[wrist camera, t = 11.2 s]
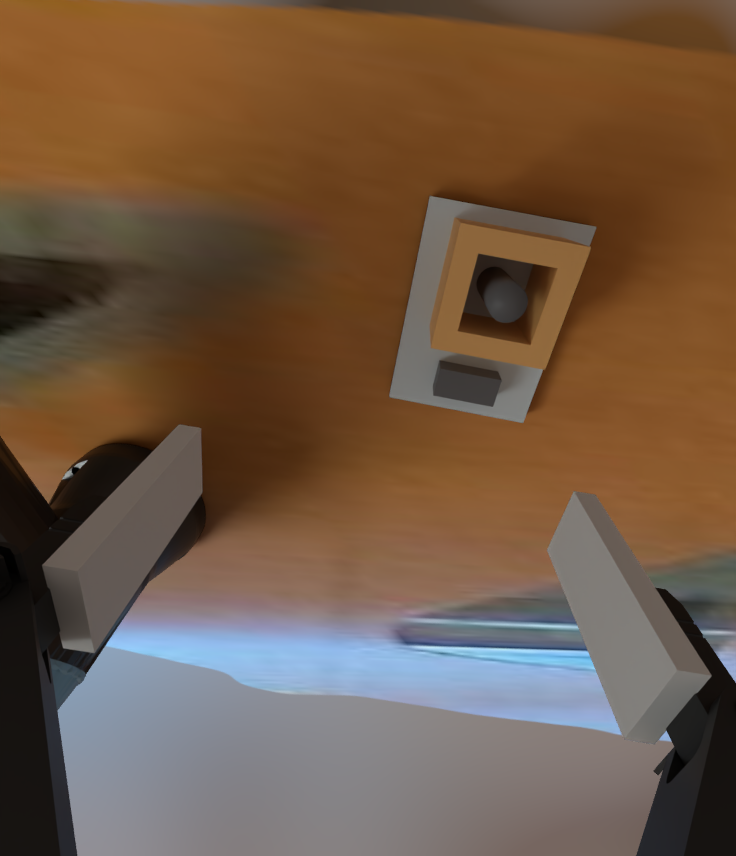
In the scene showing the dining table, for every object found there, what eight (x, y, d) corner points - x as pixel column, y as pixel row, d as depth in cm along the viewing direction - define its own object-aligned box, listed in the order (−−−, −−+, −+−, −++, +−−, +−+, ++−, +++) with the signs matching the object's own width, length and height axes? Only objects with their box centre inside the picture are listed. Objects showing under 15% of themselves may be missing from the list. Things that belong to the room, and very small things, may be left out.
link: (429, 325, 36) (430, 348, 31) (454, 217, 32) (460, 222, 27) (527, 343, 36) (545, 370, 31) (563, 237, 32) (591, 247, 27)
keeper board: (389, 391, 41) (382, 435, 33) (429, 195, 33) (431, 197, 26) (520, 416, 40) (541, 466, 33) (591, 225, 33) (638, 236, 26)
